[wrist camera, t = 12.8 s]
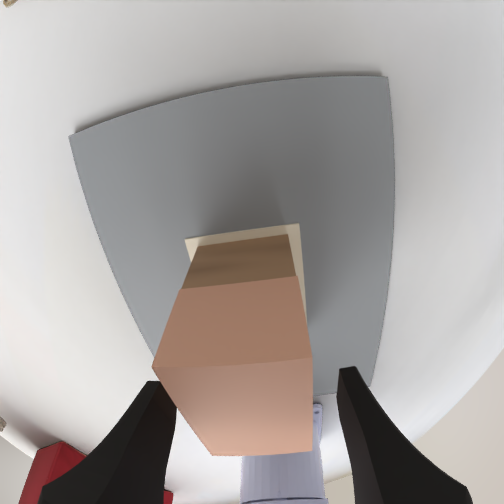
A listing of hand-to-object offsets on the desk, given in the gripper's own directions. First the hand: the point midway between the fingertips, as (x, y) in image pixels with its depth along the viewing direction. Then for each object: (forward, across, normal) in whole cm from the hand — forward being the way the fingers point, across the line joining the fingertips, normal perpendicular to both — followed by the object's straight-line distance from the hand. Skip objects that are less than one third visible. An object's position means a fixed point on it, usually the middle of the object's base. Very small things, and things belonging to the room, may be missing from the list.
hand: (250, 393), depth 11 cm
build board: (+7, 0, 0) cm, 7 cm away
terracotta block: (+2, 0, 0) cm, 2 cm away
